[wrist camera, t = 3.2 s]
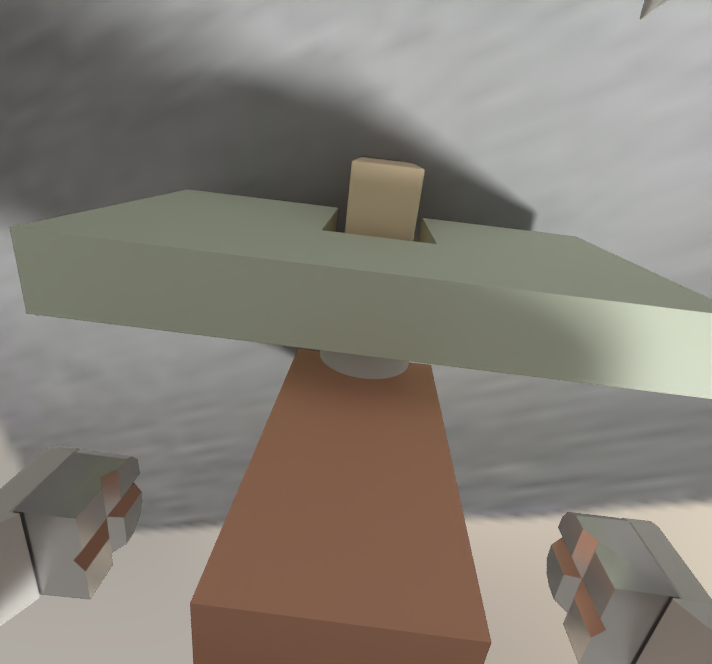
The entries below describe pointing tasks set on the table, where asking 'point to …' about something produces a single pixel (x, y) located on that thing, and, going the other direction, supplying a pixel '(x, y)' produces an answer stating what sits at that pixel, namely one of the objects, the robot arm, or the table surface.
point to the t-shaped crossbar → (359, 395)
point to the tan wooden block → (384, 198)
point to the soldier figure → (650, 7)
